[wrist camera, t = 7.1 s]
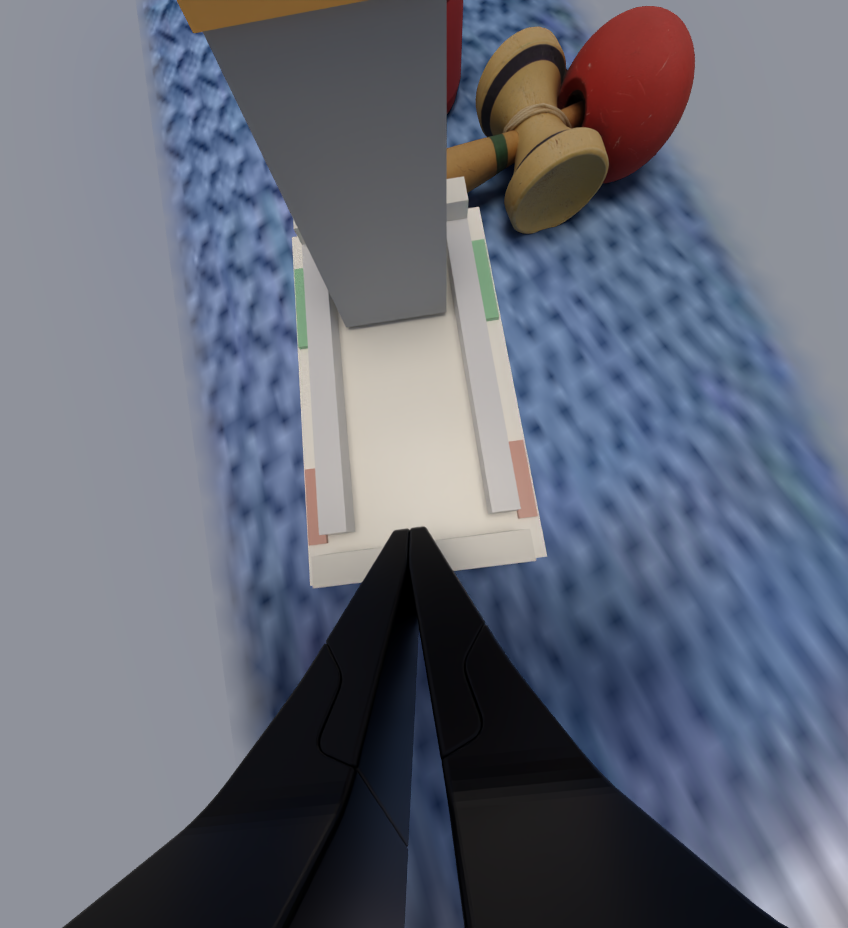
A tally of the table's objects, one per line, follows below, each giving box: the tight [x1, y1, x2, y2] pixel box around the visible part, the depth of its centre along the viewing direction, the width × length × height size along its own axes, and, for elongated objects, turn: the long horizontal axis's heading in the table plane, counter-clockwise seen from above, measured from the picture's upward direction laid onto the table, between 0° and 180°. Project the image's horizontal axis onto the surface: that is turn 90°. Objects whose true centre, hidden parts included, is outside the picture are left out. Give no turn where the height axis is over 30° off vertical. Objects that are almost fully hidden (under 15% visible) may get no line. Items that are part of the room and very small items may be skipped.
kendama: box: [447, 6, 695, 234], centre depth 18 cm, size 8×6×18 cm
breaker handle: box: [177, 0, 447, 327], centre depth 10 cm, size 3×5×10 cm
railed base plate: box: [292, 176, 547, 588], centre depth 15 cm, size 16×9×5 cm, turn 8°
